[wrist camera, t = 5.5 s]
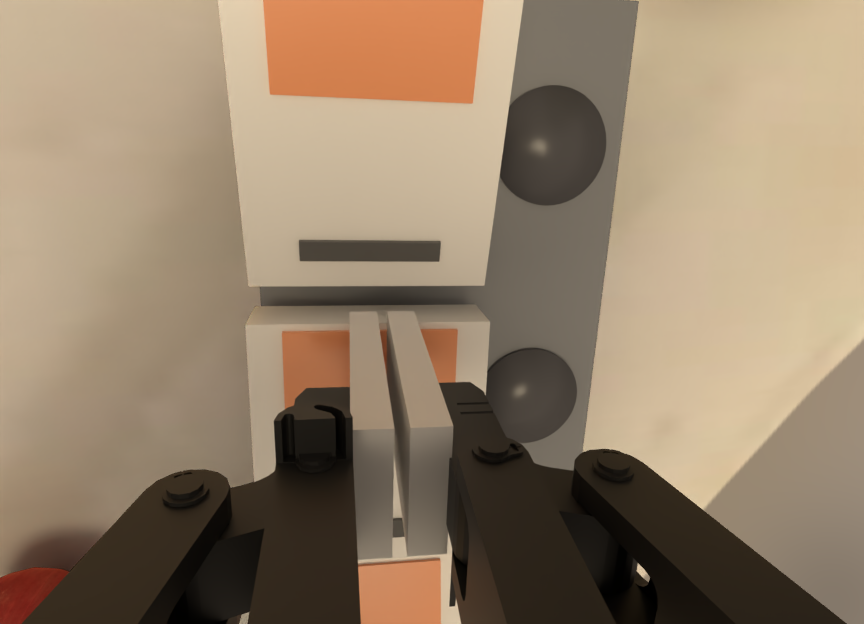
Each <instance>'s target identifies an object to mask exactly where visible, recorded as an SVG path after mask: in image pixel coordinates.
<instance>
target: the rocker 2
mask: <svg viewBox="0 0 864 624" xmlns="http://www.w3.org/2000/svg"><path fill="white" fill-rule="evenodd" d="M362 311H377V315H378V322H379V329H380V336H381V342H382V349H383V356H384V362H385V369H386V364H387V311H414V313H415V315H416V318H417V321H418V324H419V327H420V330H421V333H422V336H423V339H424V342H425V345H426V348H427V350H428V353H429V356H430V359H431V362H432V365H433V368H434V371H435V374H436V377H437V380H438V383H447V382H471V383H472V384H474V385H475V386H477V387H478V388H480V389H481V390H482V391H484V393H485V395H486V383H487V366H488V350H489V333H490V321H489V320H488V319H487V317H486V316H485V315H484V314H483V313H482V312H481V310H480V309H479V308H478V307H477V306H476V305H475V304H465V305H349V306H255V307H254V309H253V311H252V313H251V315H250V317H249V319H248V320H247V322H246V324H245V332H246V350H247V367H248V385H249V403H250V420H251V438H252V455H253V473H254V482H256V481H258V480H260V479H263V478H265V477H267V476H269V475H270V474H271V473H273V472H274V471H275V466H276V454H275V437H274V419H275V418H276V416H277V415H278V413H280V412H281V411H283V410H285V409H286V408H288V407H291V406H294V403H295V398H296V397H297V396H298V395H299V394H301V393H302V392H303V391H304V390H305V389H306V388H324V387H350V312H362ZM447 554H452V546H451V542H450V538H449V533H448V545H447ZM437 555H446V554H437ZM422 556H433V555H422ZM406 557H420V556H407V550H406V542H405V535H404V528H403V520H402V513H401V506H400V498H399V491H398V483H397V476H396V469H395V461H394V482H393V547H392V558H378V559H364V560H358V561H366V560H379V559H393V558H406Z"/></svg>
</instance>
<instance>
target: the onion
mask: <svg viewBox="0 0 864 624" xmlns="http://www.w3.org/2000/svg"><path fill="white" fill-rule="evenodd" d="M68 573H69V571H66V570H63V569H56V568H40V567H34V568H29V569H25V570H21V571H17V572H13V573H10V574H8V575H5V576H3V577H1V578H0V624H22V622H23V621H24V620H25V619H26V618H27V617H28V616H29V615H30V614H31V613H32V612H33V611H34V610H35V608H36V607H37V606H38V605H39V604H40V603H41V602H42V601H43V600H44V599H45V598H46V597H47V596H48V594H49V593H50V592H51V591H52V590H53V589H54V588H55V587H56V586H57V585H58V584H59V583H60V582H61V580H62V579H63V578H64V577H65V576H66V575H67V574H68Z"/></svg>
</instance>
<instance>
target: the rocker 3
mask: <svg viewBox="0 0 864 624" xmlns="http://www.w3.org/2000/svg"><path fill="white" fill-rule="evenodd" d="M451 563H452V554H446V555H433V556H420V557H406V558H393V559H379V560H366V561H358V573H359V595H360V616H361V624H461V620H460V615H459V610H458V605H457V600H456V603H455V606H452V607H449V601H450V582H451Z"/></svg>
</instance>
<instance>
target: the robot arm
mask: <svg viewBox="0 0 864 624" xmlns="http://www.w3.org/2000/svg"><path fill="white" fill-rule="evenodd" d="M274 437H275V454H276V466H275V471H274V472H273V473H271V474H270V475H269V476H267V477H265V478H263V479H260V480H258V481H256V482H252V483H249V484H246V485H242V486H238V487H234V488H230V485H229V483H228V480H227V478H226V477H224V476H223V475H221V474H220V473H218V472H214V471H209V470H186V471H183V472H177V473H174V474H171V475H169V476H167V477H164V478H162V479H160V480H158V481H156V482H155V483H154V484H152V485H151V486H150V487H149V488H147V489H146V490H145V491H144V492H143V493H142V494H141V495H140V496H139V498H138V499H137V500H136V501H135V502H134V503H133V504H132V505H131V506H130V507H129V508H128V509H127V510H126V512H125V513H124V514H123V515H122V516H121V517H120V518H119V519H118V520H117V521H116V522H115V523H114V524H113V526H112V527H111V528H110V529H109V530H108V531H107V532H106V533H105V534H104V535H103V536H102V537H101V538H100V540H99V541H98V542H97V543H96V544H95V545H94V546H93V547H92V548H91V549H90V550H89V551H88V552H87V554H86V555H85V556H84V557H83V558H82V559H81V560H80V561H79V562H78V563H77V564H76V565H75V566H74V568H73V569H72V570H71V571H70V572H69V573H68V574H67V575H66V576H65V577H64V578H63V579H62V580H61V582H60V583H59V584H58V585H57V586H56V587H55V588H54V589H53V590H52V591H51V592H50V593H49V594H48V596H47V597H46V598H45V599H44V600H43V601H42V602H41V603H40V604H39V605H38V606H37V607H36V608H35V610H34V611H33V612H32V613H31V614H30V615H29V616H28V617H27V618H26V619H25V620H24V621H23V622H22V624H239V622H240V618H241V614H244V613H247V612H250V613H249V619H248V624H361V616H360V595H359V573H358V560H364V559H378V558H392V547H393V482H394V461H395V469H396V476H397V483H398V491H399V498H400V506H401V513H402V520H403V528H404V535H405V542H406V550H407V556H422V555H437V554H447V545H448V533H449V538H450V542H451V546H452V563H451V582H450V601H449V607H452V606H455V603H456V600H457V605H458V610H459V615H460V620H461V624H846V623H845V622H844V621H842V620H841V619H840V618H839V617H838V616H836V615H835V614H834V613H832V612H831V611H830V610H829V609H827V608H826V607H825V606H824V605H822V604H821V603H820V602H819V601H817V600H816V599H815V598H814V597H812V596H811V595H810V594H809V593H807V592H806V591H805V590H803V589H802V588H801V587H800V586H798V585H797V584H796V583H794V582H793V581H792V580H791V579H790V578H788V577H787V576H786V575H784V574H783V573H782V572H781V571H779V570H778V569H777V568H776V567H774V566H773V565H772V564H771V563H769V562H768V561H767V560H765V559H764V558H763V557H762V556H760V555H759V554H758V553H757V552H755V551H754V550H753V549H752V548H750V547H749V546H748V545H746V544H745V543H744V542H743V541H741V540H740V539H739V538H738V537H736V536H735V535H734V534H733V533H731V532H730V531H729V530H728V529H726V528H725V527H724V526H722V525H721V524H720V523H719V522H717V521H716V520H715V519H714V518H712V517H711V516H710V515H709V514H707V513H706V512H705V511H703V510H702V509H701V508H700V507H698V506H697V505H696V504H695V503H693V502H692V501H691V500H690V499H688V498H687V497H686V496H684V495H683V494H682V493H681V492H679V491H678V490H677V489H676V488H674V487H673V486H672V485H671V484H669V483H668V482H667V481H665V480H664V479H663V478H662V477H660V476H659V475H658V474H657V473H655V472H654V471H653V470H652V469H650V468H649V467H648V466H647V465H645V464H644V463H643V462H641V461H639V460H638V459H636V458H634V457H632V456H630V455H627V454H624V453H621V452H620V451H616V450H610V449H598V450H589V451H586V452H583V453H581V454H579V456H578V457H577V458H576V459H575V462H574V470H573V471H572V470H565V469H559V468H552V467H547V466H542V465H539V464H536V463H534V462H533V460H532V458H531V456H530V454H529V452H528V451H527V450H526V448H525V447H524V446H523V445H522V444H520V443H518V442H517V441H515V440H513V439H510V438H507V437H506V436H505V434H504V432H503V430H502V428H501V426H500V423H499V421H498V419H497V417H496V415H495V413H493V409H492V407H491V405H490V404H489V401H488V399H487V397H486V395H485V393H484V391H482V390H481V389H480V388H478V387H477V386H475V385H474V384H472V383H471V382H447V383H438V380H437V377H436V374H435V371H434V368H433V365H432V362H431V359H430V356H429V353H428V350H427V348H426V345H425V342H424V339H423V336H422V333H421V330H420V327H419V324H418V321H417V318H416V315H415V313H414V311H387V364H386V369H385V362H384V356H383V349H382V342H381V336H380V329H379V322H378V315H377V311H362V312H350V387H324V388H306V389H305V390H304V391H303V392H302V393H301V394H299V395H298V396H297V397H296V398H295V403H294V406H291V407H288V408H286V409H285V410H283V411H281V412H280V413H278V415H277V416H276V418H275V419H274ZM638 563H639V564H640V565H641V566H642V567H643V568H644V569H645V571H646V572H647V573H648V575H649V576H650V580H649V583H648V582H647V581H646V580H645V579H643V578H642V577H641V575H640V574H639V573H638V572H637V571H636V570H637V564H638Z"/></svg>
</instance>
